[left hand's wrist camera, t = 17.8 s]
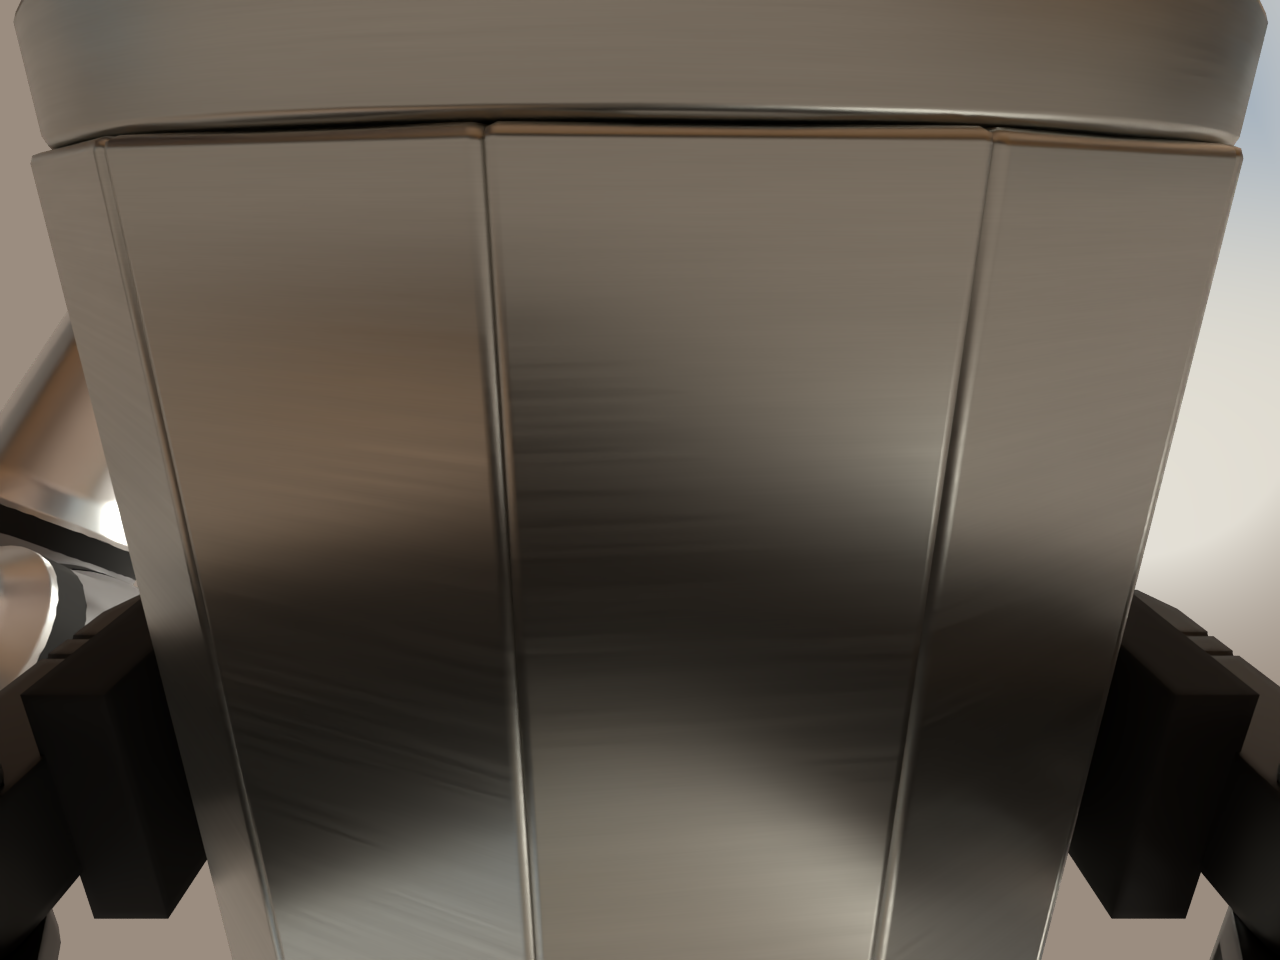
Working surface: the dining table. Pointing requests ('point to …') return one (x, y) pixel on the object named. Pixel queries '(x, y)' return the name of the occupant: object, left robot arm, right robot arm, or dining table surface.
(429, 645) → the beaker
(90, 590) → the right robot arm
